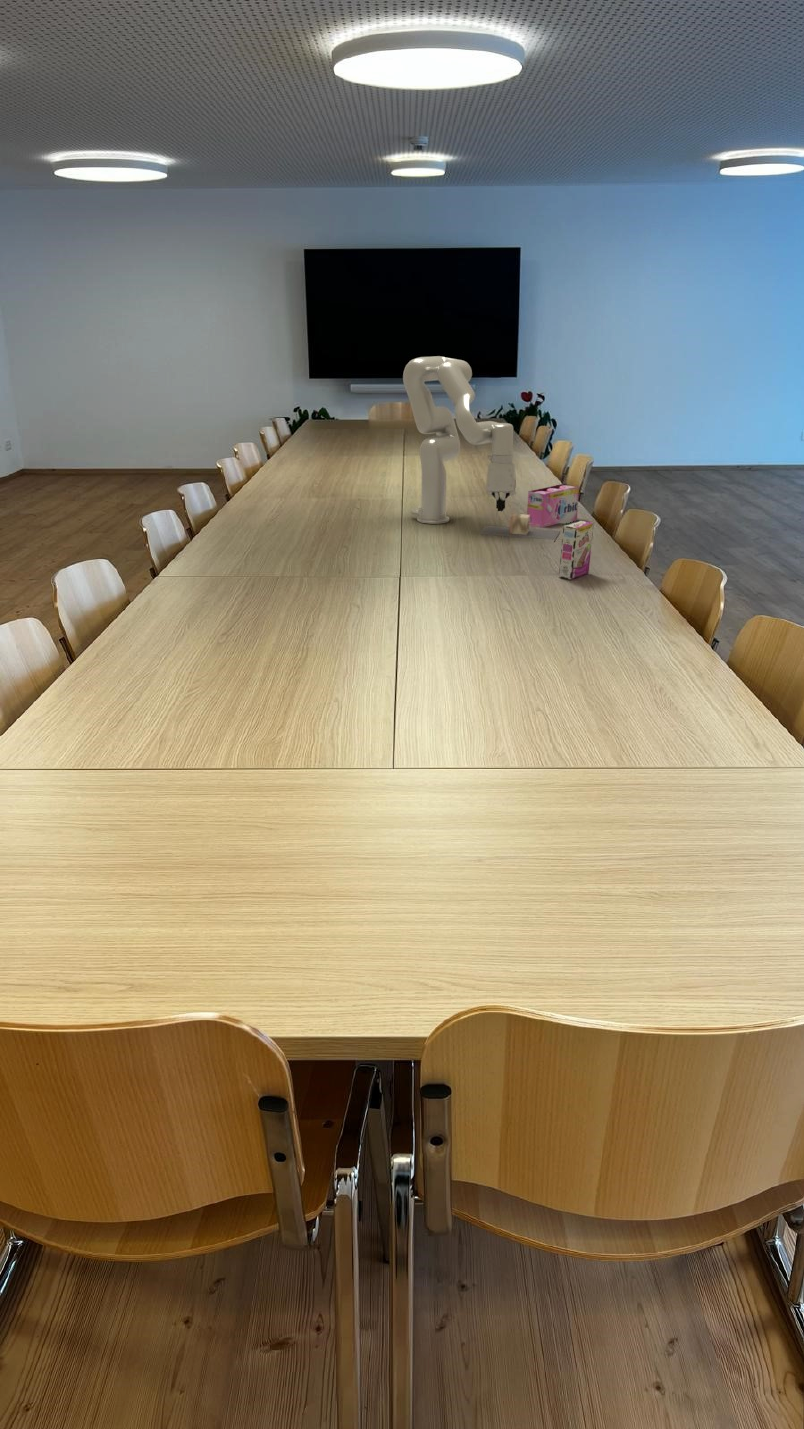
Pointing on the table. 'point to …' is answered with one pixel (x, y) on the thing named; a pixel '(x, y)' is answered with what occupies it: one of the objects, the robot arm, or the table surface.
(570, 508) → the gum box
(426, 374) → the robot arm
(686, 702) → the table surface
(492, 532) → the rubber mat
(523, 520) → the maple cube
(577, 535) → the candy bar box
